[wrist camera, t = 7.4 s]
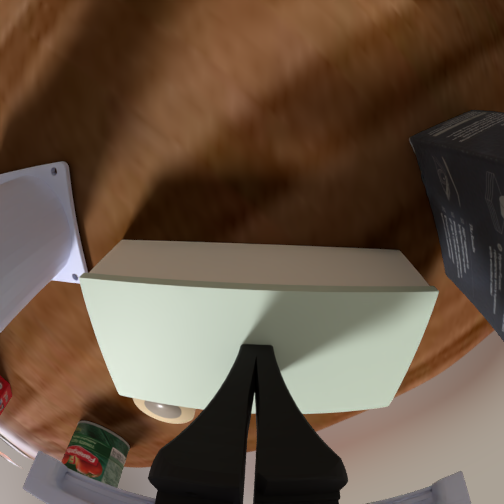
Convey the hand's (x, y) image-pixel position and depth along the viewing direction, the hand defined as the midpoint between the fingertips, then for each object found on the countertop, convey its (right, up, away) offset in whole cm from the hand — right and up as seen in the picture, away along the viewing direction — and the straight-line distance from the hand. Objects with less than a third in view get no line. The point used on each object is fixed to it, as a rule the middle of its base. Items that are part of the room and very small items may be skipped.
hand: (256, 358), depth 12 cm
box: (+12, +8, +1) cm, 15 cm away
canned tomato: (-20, -20, +16) cm, 33 cm away
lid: (0, 0, 0) cm, 0 cm away
